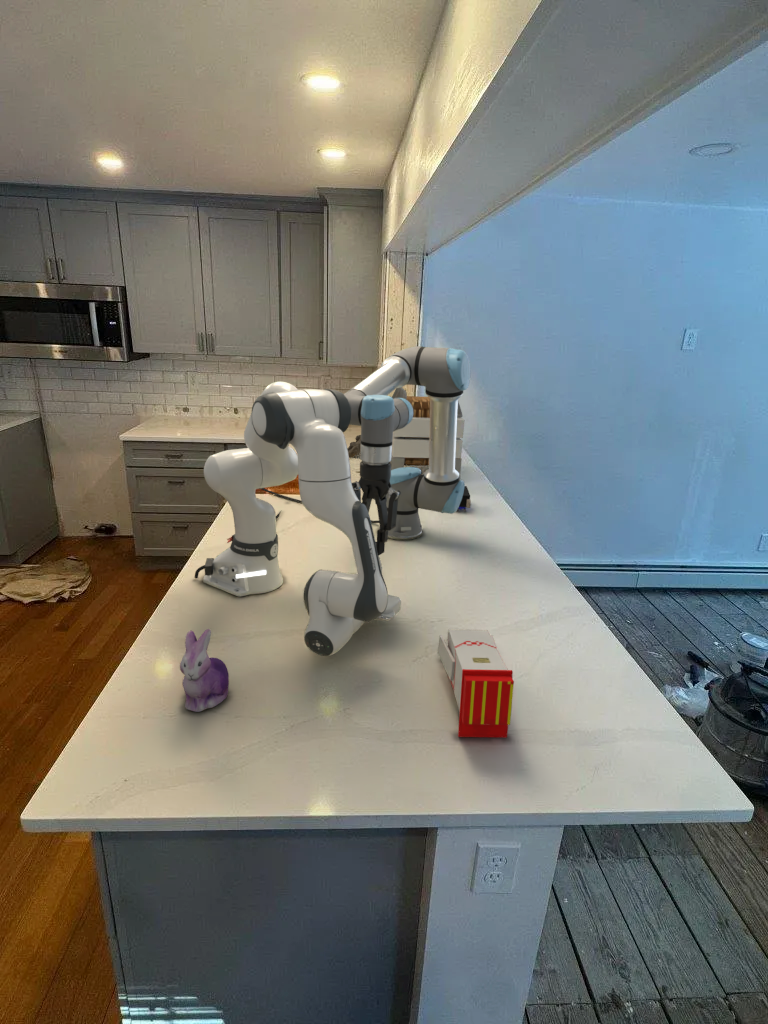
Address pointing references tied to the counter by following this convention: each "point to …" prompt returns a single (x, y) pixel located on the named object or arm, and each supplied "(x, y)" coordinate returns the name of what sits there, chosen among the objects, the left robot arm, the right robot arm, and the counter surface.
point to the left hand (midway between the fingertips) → (372, 587)
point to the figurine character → (465, 500)
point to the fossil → (355, 447)
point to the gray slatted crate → (419, 435)
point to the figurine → (202, 674)
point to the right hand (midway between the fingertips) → (372, 551)
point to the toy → (478, 682)
